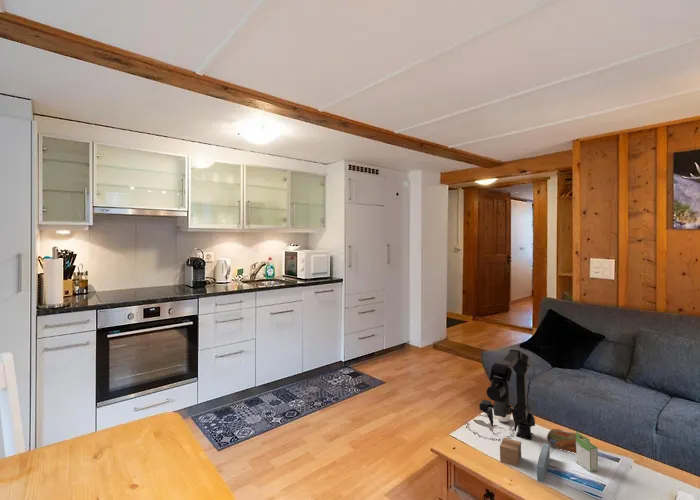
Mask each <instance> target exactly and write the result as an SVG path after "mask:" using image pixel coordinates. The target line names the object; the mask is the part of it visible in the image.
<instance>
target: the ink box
mask: <svg viewBox="0 0 700 500" xmlns="http://www.w3.org/2000/svg"><path fill="white" fill-rule="evenodd" d="M575 433H576V454H575V455H576V463H577V462H578V463H579V464H578V463H577V464H578V465H580V464H581V465H582V466H583V467H582V466H581V465H580V466H581V467H582V468H584V467H585V468H586V469H585V468H584V469H585V470H587V469H588V470H589V471H588V470H587V471H588V472H590V471H592V472H596V471H595V470H598V463H599V462H598V457H599V456H598V455H599V454H598V446H596V445H595V444H593V443H591V439H590V438H589V437H586V436H585V435H583V434H582V433H580V432H578V431H576V432H575ZM579 437H583V439H580V438H579Z"/></svg>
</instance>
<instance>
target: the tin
mask: <svg viewBox="0 0 700 500" xmlns="http://www.w3.org/2000/svg"><path fill="white" fill-rule="evenodd" d="M579 438H580V439H584V438H583V437H579ZM546 439H547V442H548V444H549V446H551V447H552V448H554V449H556V448H557V450H559V449H562V450H561V451H563V450H566V451H565V452H567V451H570V452H574V453H576V432H572V431H568V430H563V429H560V428H553V429H551V430H549V431H548V433H547V436H546ZM570 452H569V453H570ZM574 453H573V454H574Z"/></svg>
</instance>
